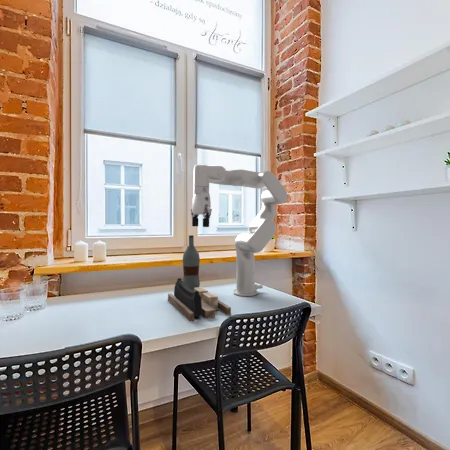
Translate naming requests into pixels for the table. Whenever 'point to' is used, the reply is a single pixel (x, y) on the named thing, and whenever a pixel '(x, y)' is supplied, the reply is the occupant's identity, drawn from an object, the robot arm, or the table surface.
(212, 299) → the offcut
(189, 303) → the magazine
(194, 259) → the bottle
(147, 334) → the table surface
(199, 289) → the offcut
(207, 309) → the rack
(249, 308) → the table surface
